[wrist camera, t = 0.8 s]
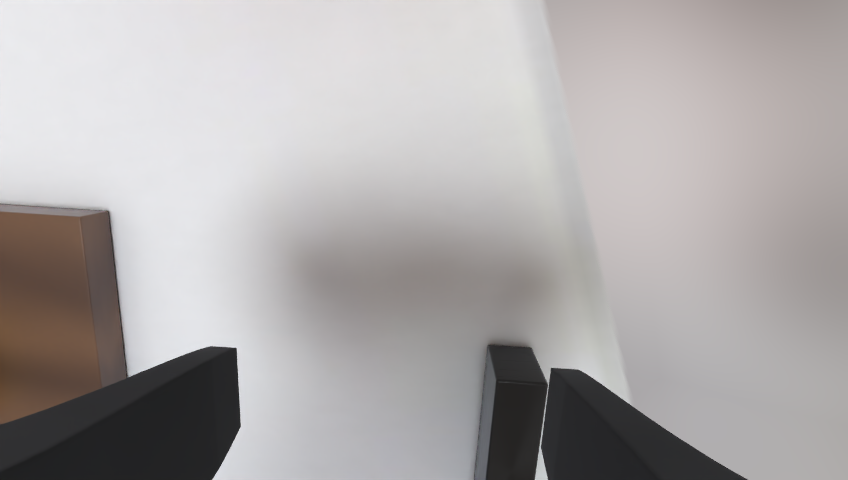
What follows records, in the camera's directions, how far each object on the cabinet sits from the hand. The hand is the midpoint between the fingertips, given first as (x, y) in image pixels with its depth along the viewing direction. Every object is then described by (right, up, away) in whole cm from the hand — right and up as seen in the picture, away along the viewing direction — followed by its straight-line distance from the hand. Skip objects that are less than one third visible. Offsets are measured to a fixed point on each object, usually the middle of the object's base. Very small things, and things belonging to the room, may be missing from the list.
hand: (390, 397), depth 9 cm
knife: (+4, -10, +11) cm, 16 cm away
